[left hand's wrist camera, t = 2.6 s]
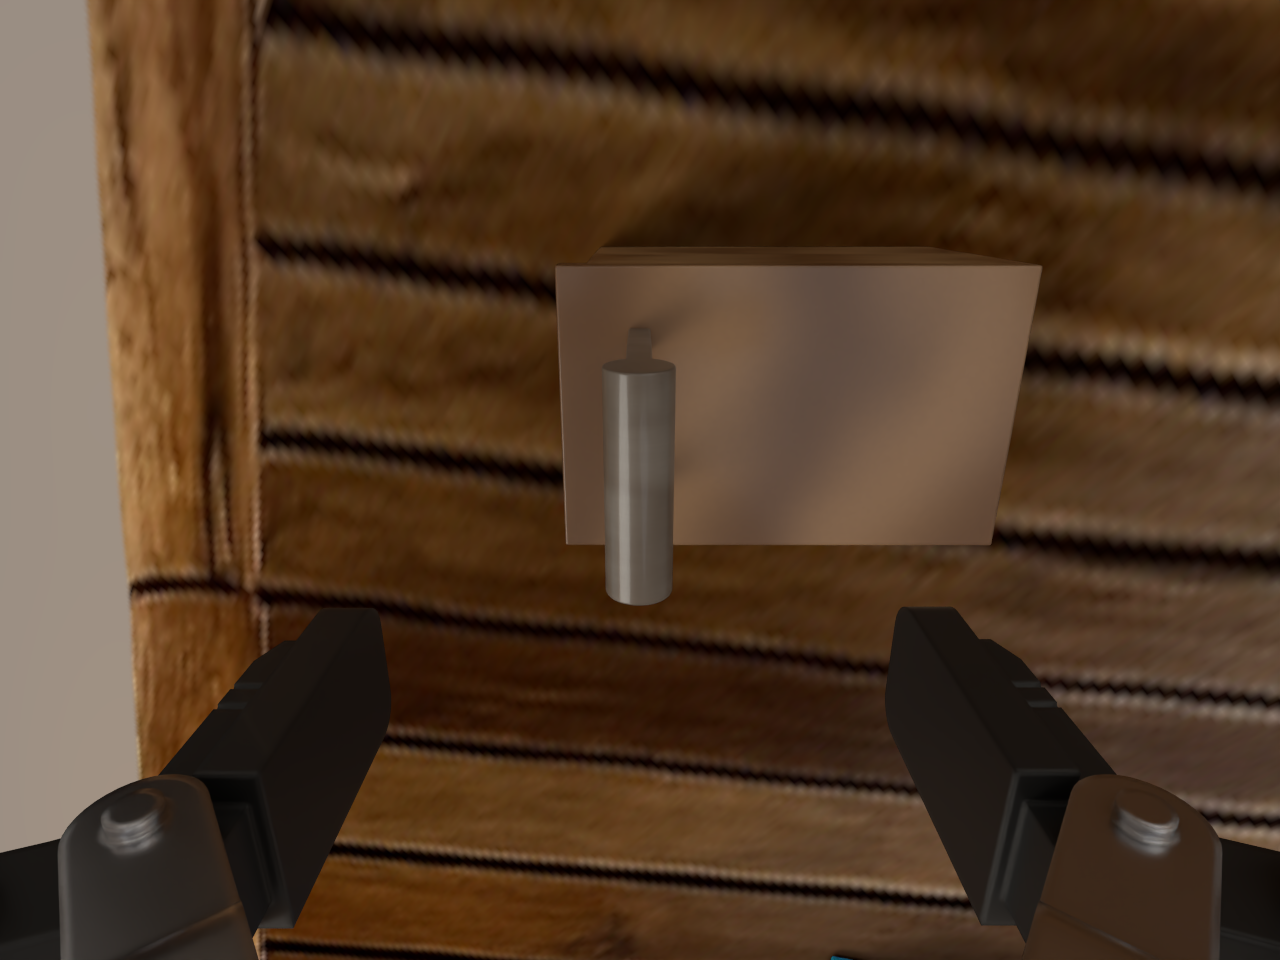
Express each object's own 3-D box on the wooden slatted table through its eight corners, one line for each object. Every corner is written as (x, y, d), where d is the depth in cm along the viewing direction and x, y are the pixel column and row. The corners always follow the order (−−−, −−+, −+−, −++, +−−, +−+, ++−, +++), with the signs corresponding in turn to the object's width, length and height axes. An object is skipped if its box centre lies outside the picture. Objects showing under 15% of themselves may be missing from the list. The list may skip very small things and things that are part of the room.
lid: (567, 535, 27) (539, 665, 19) (557, 263, 24) (518, 292, 16) (981, 535, 27) (1112, 665, 19) (1030, 262, 24) (1212, 292, 16)
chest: (603, 457, 35) (592, 534, 27) (599, 246, 32) (585, 262, 24) (902, 457, 35) (980, 535, 27) (930, 246, 32) (1029, 262, 24)
